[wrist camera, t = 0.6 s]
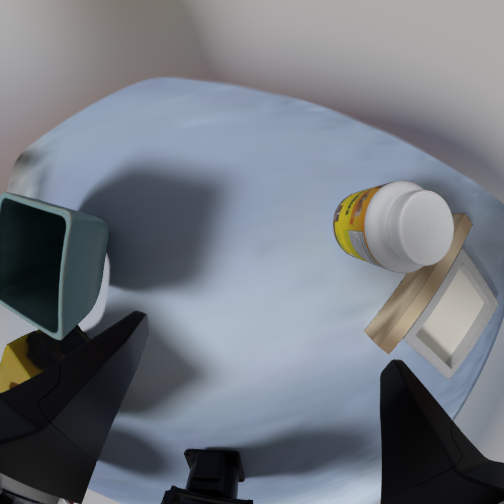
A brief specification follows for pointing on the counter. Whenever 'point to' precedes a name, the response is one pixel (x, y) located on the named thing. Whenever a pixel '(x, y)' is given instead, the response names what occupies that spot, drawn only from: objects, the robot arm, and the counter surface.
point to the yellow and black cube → (35, 355)
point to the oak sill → (415, 293)
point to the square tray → (453, 317)
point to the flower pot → (50, 262)
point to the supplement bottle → (395, 226)
